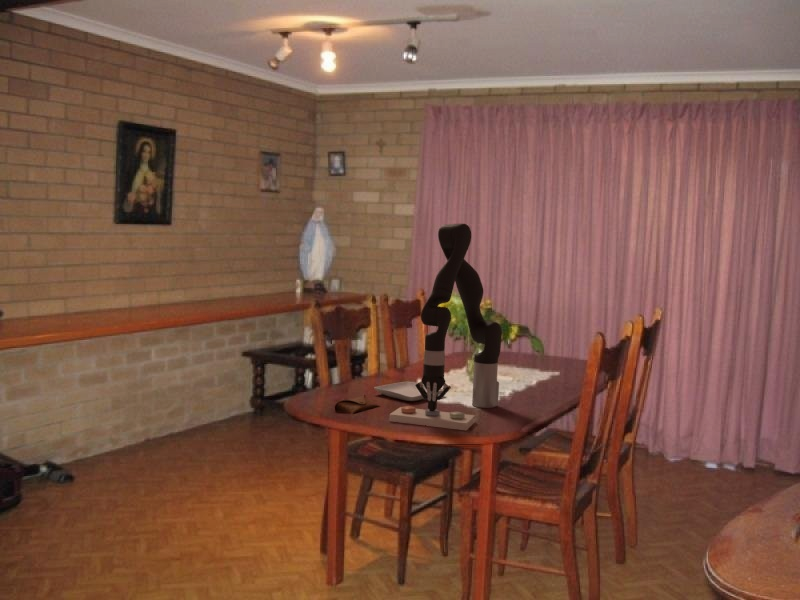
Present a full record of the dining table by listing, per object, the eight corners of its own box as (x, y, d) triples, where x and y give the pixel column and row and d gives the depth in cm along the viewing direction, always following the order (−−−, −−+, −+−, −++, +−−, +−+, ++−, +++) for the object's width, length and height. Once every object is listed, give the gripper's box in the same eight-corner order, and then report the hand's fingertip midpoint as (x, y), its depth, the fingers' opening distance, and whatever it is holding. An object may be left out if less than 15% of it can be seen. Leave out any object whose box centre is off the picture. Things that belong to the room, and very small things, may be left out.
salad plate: (445, 397, 320) (446, 388, 320) (411, 405, 304) (412, 396, 304) (407, 388, 334) (407, 380, 334) (372, 395, 318) (372, 387, 318)
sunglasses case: (352, 414, 285) (345, 397, 286) (339, 421, 289) (332, 404, 290) (381, 405, 300) (374, 389, 301) (368, 412, 303) (361, 396, 305)
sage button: (459, 421, 279) (459, 411, 279) (466, 425, 275) (467, 414, 274) (446, 422, 277) (447, 412, 277) (454, 426, 272) (454, 415, 272)
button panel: (474, 422, 280) (474, 415, 280) (466, 430, 269) (466, 423, 268) (400, 413, 289) (400, 406, 289) (389, 421, 278) (389, 414, 277)
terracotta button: (411, 415, 285) (411, 405, 285) (417, 419, 280) (418, 409, 280) (398, 417, 283) (398, 406, 282) (404, 420, 278) (405, 410, 278)
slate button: (435, 418, 282) (435, 408, 282) (442, 422, 278) (442, 411, 277) (422, 419, 280) (422, 409, 279) (429, 423, 275) (429, 412, 275)
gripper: (455, 362, 278) (452, 410, 280) (419, 359, 282) (417, 406, 284) (449, 366, 271) (447, 415, 273) (412, 362, 275) (411, 411, 277)
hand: (432, 410), depth 278 cm, fingers closed
